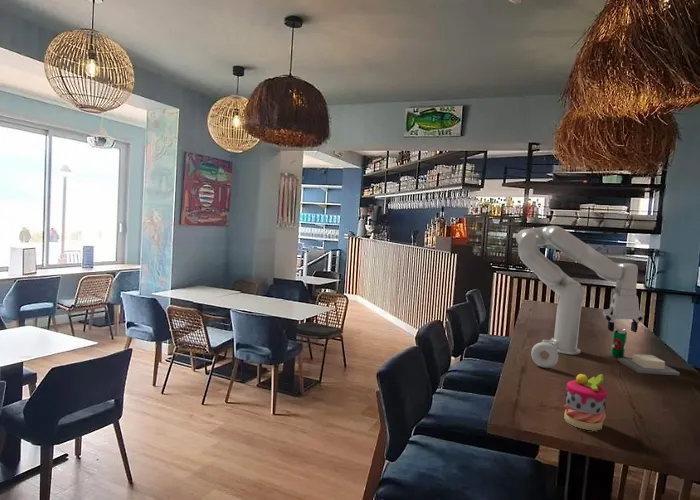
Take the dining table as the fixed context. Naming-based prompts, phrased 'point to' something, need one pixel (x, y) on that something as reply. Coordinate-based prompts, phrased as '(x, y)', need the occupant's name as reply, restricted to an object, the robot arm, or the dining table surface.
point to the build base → (647, 370)
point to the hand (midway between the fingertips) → (622, 331)
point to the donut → (548, 348)
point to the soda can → (618, 343)
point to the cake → (585, 402)
